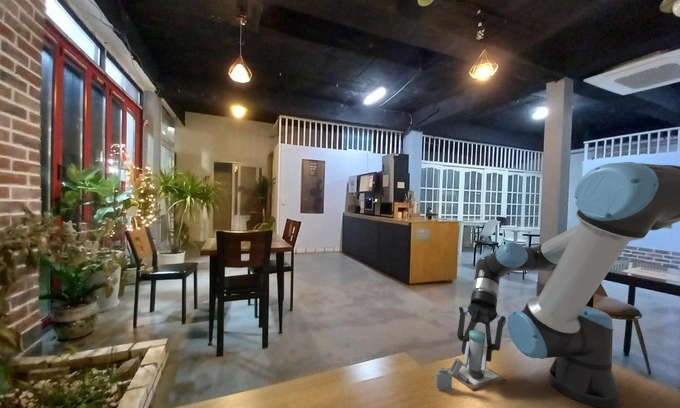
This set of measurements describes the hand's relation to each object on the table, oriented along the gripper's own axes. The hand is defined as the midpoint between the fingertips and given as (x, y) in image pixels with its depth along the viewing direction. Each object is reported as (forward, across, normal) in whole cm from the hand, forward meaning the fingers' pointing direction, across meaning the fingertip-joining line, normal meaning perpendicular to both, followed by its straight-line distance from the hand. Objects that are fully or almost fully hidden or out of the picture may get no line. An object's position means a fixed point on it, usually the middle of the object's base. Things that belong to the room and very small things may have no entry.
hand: (474, 368), depth 79 cm
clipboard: (0, +1, -7) cm, 7 cm away
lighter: (+7, +5, 0) cm, 9 cm away
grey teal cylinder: (0, 0, -5) cm, 5 cm away
